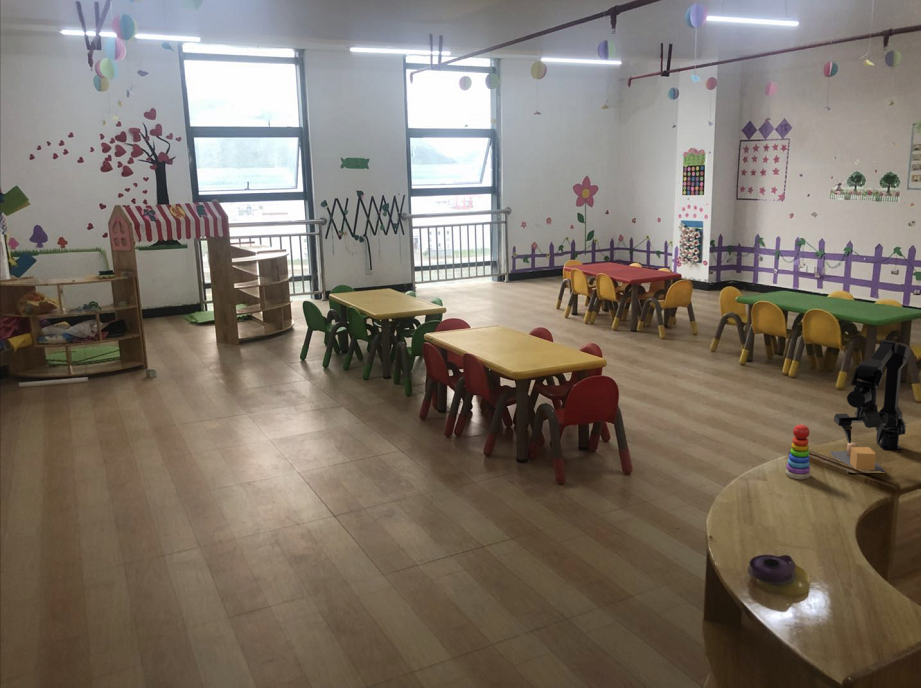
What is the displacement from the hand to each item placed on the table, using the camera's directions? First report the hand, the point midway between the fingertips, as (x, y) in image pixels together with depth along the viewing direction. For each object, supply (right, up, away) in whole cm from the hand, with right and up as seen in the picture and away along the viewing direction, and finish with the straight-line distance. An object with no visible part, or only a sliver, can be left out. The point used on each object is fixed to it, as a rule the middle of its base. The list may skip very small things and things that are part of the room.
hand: (863, 443), depth 257 cm
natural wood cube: (+1, -8, +2) cm, 9 cm away
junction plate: (+1, -8, +7) cm, 11 cm away
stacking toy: (-23, -12, 0) cm, 26 cm away
